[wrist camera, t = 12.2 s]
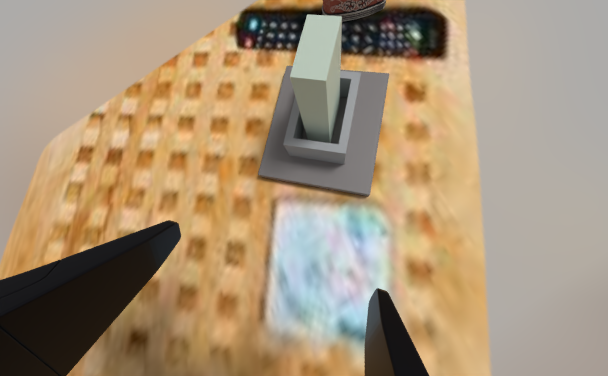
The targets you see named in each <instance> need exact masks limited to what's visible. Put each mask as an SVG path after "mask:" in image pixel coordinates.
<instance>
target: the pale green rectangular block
mask: <svg viewBox="0 0 608 376" xmlns="http://www.w3.org/2000/svg"><path fill="white" fill-rule="evenodd" d="M341 28H342V16H326V15H307V17H306V21H305V25H304V28H303V32H302V35H301V39H300V42H299V46H298V49H297V53H296V57H295V60H294V64H293V67H292V71H291V74H290V79H291V83H292V86H293V90H294V93H295V97H296V100H297V104H298V107H299V111H300V114H301V118H302V121H303V124H304V128H305V131H306V135H307V138H308V140H311V141H318V142H325V143H331V139H332V135H333V131H334V126H335V122H336V117H337V113H338V109H339V102H340V65H341Z"/></svg>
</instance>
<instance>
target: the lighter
mask: <svg viewBox="0 0 608 376" xmlns="http://www.w3.org/2000/svg"><path fill="white" fill-rule="evenodd" d="M385 3H386V0H323V6H322V15H326V16H342V22H343V21H349V20H354V19H358V18H362V17H365V16H368V15H371V14H373V13H376V12H378V11H381V10H382V9H383V8H384V7H385Z"/></svg>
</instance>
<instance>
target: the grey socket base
mask: <svg viewBox="0 0 608 376" xmlns="http://www.w3.org/2000/svg"><path fill="white" fill-rule="evenodd" d="M292 67H293V66H287V67H286V71H285V75H284V78H283V82H282V86H281V90H280V94H279V97H278V101H277V105H276V109H275V113H274V116H273V120H272V124H271V128H270V132H269V135H268V139H267V143H266V147H265V151H264V154H263V158H262V162H261V166H260V169H259V173H258V175H259V176H260V177H264V178H269V179H275V180H280V181H286V182H291V183H297V184H303V185H308V186H314V187H319V188H325V189H330V190H336V191H341V192H347V193H353V194H358V195H364V196H369V195H370V191H371V184H372V178H373V172H374V165H375V159H376V153H377V147H378V140H379V134H380V128H381V122H382V115H383V109H384V103H385V96H386V90H387V84H388V78H389V74H388V73H375V72H362V71H349V70H340V102H339V109H338V113H337V117H336V122H335V126H334V131H333V135H332V139H331V143H325V142H318V141H311V140H308V138H307V135H306V131H305V128H304V124H303V121H302V118H301V114H300V111H299V107H298V104H297V100H296V97H295V93H294V90H293V86H292V83H291V79H290V74H291V71H292Z"/></svg>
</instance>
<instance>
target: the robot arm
mask: <svg viewBox="0 0 608 376" xmlns="http://www.w3.org/2000/svg"><path fill="white" fill-rule="evenodd" d="M180 238H181V233H180V228H179V224H178V223H177V222H174V221H170V220H169V221H165V222H162V223H160V224H157V225H154V226H151V227H149V228H146V229H143V230H140V231H138V232H135V233H132V234H129V235H127V236H124V237H121V238H118V239H116V240H113V241H110V242H107V243H105V244H102V245H99V246H96V247H94V248H91V249H88V250H85V251H83V252H80V253H77V254H74V255H72V256H69V257H66V258H64V259H62V260H58V261H55V262H52V263H50V264H47V265H44V266H41V267H38V268H36V269H33V270H30V271H27V272H24V273H21V274H18V275H15V276H12V277H9V278H6V279H3V280H0V376H66V375H67V374H68V373H69V372H70V371H71V370H72V369H73V367H74V366H75V365H76V364H77V363H78V362H79V360H80V359H81V358H82V357H83V356H84V355H85V354H86V352H87V351H88V350H89V349H90V348H91V347H92V346H93V344H94V343H95V342H96V341H97V340H98V339H99V337H100V336H101V335H102V334H103V333H104V332H105V331H106V329H107V328H108V327H109V326H110V325H111V324H112V323H113V321H114V320H115V319H116V318H117V317H118V316H119V314H120V313H121V312H122V311H123V310H124V309H125V308H126V306H127V305H128V304H129V303H130V302H131V301H132V300H133V298H134V297H135V296H136V295H137V294H138V293H139V291H140V290H141V289H142V288H143V287H144V286H145V285H146V283H147V282H148V281H149V280H150V279H151V278H152V276H153V275H154V274H155V273H156V272H157V271H158V269H159V268H160V267H161V265H162V264H163V263H164V261H165V260H166V259H167V257H168V256H169V254H170V253H171V252H172V250H173V249H174V247H175V246H176V245H177V243H178V242H179V240H180ZM365 376H429V374H428V372H427V370H426V368H425V366H424V364H423V362H422V360H421V358H420V356H419V354H418V352H417V350H416V348H415V346H414V344H413V342H412V340H411V338H410V336H409V334H408V332H407V330H406V328H405V326H404V324H403V322H402V320H401V318H400V316H399V314H398V312H397V310H396V308H395V306H394V303H393V301H392V299H391V297H390V295H389V293H388V292H387V291H385V290H382V289H379V288H377V289H376V290H375V292H374V293H373V295H372V297H371V299H370V301H369V307H368V317H367V327H366V337H365Z"/></svg>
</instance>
